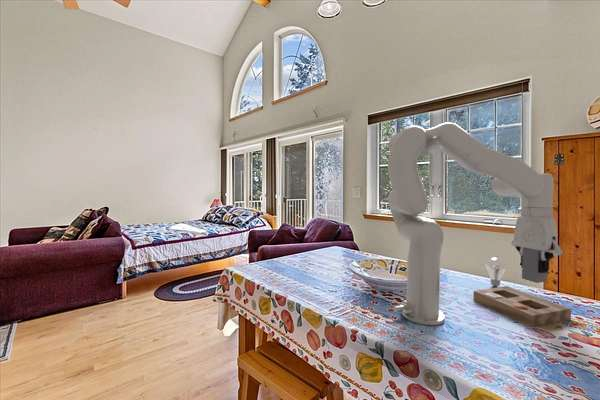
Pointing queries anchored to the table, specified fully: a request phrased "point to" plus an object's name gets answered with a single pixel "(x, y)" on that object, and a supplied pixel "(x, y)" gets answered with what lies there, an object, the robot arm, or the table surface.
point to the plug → (532, 266)
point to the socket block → (522, 306)
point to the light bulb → (495, 270)
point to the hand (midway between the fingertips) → (534, 269)
